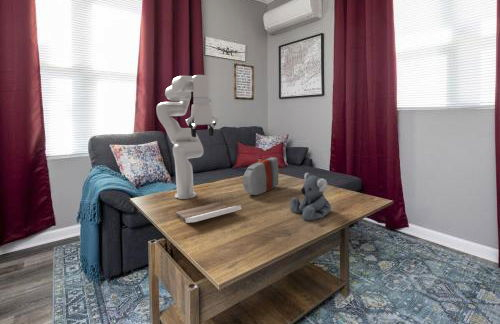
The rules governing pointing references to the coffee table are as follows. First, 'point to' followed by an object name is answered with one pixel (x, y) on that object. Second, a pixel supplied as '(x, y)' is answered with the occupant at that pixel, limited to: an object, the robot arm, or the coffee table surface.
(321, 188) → the koala plush
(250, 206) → the coffee table surface
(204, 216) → the off-white plank
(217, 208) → the walnut plank
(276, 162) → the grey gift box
